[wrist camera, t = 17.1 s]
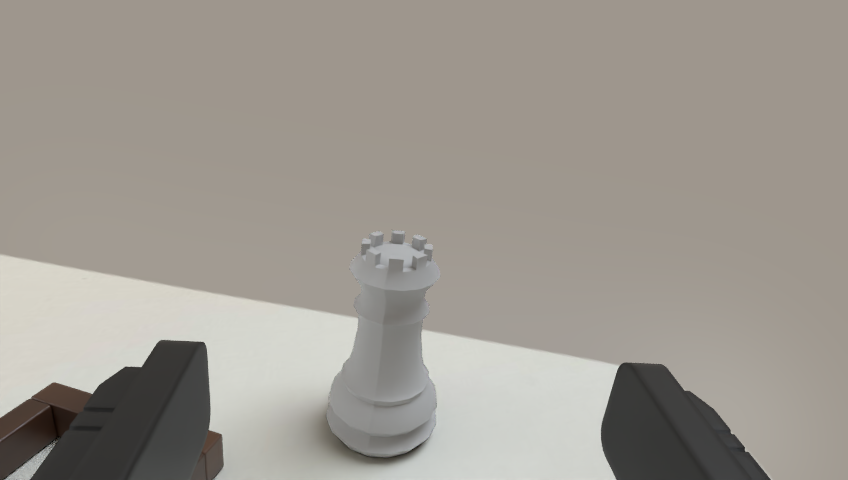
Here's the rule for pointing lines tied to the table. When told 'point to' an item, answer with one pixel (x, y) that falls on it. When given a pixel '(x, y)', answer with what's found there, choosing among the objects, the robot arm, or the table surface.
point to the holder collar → (52, 415)
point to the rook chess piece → (387, 351)
